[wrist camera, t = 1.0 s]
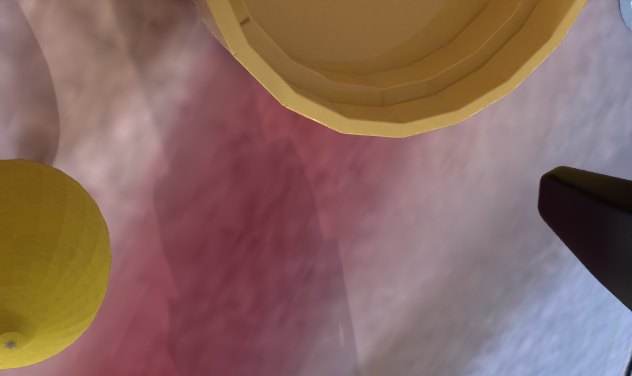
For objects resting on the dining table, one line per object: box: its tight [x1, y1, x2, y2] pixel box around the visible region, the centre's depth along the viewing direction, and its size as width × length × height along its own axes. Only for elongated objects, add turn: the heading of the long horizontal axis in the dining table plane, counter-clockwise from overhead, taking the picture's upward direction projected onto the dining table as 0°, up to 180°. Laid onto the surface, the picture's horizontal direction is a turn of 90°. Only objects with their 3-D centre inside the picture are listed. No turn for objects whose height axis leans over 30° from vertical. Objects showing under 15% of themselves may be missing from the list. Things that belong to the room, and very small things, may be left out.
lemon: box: [0, 159, 112, 369], centre depth 18 cm, size 6×6×8 cm
